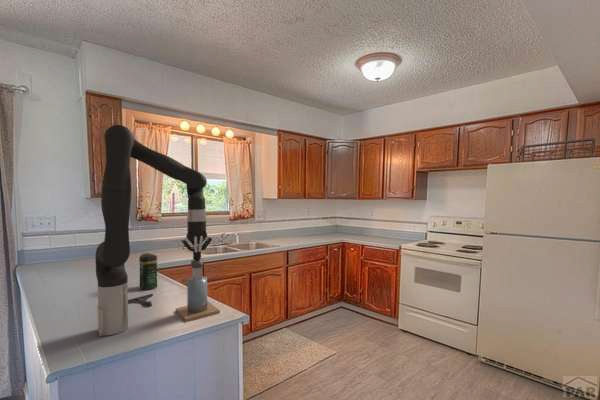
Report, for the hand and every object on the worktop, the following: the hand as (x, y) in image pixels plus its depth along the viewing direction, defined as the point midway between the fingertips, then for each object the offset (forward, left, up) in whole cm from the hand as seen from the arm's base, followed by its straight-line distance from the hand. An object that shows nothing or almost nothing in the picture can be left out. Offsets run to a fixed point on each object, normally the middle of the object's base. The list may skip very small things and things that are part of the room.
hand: (197, 260), depth 123 cm
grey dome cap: (0, -2, -7) cm, 8 cm away
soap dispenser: (0, 0, -22) cm, 22 cm away
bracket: (-16, +27, -23) cm, 39 cm away
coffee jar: (-9, +50, -22) cm, 55 cm away
